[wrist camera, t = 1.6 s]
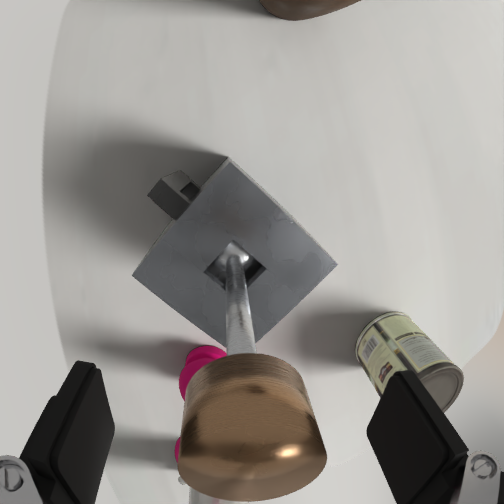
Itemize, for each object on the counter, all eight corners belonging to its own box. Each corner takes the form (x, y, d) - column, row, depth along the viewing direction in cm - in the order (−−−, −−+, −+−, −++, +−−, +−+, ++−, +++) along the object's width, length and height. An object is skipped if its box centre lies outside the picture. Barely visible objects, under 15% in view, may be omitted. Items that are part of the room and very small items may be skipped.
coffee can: (409, 359, 46) (452, 415, 32) (352, 374, 45) (386, 439, 32) (418, 304, 42) (473, 356, 29) (356, 318, 42) (401, 381, 29)
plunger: (237, 318, 25) (256, 530, 9) (167, 262, 23) (82, 462, 7) (301, 255, 24) (418, 438, 7) (230, 191, 22) (245, 316, 6)
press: (234, 277, 39) (239, 357, 23) (151, 207, 35) (101, 249, 20) (292, 216, 37) (337, 264, 22) (209, 140, 34) (196, 131, 18)
